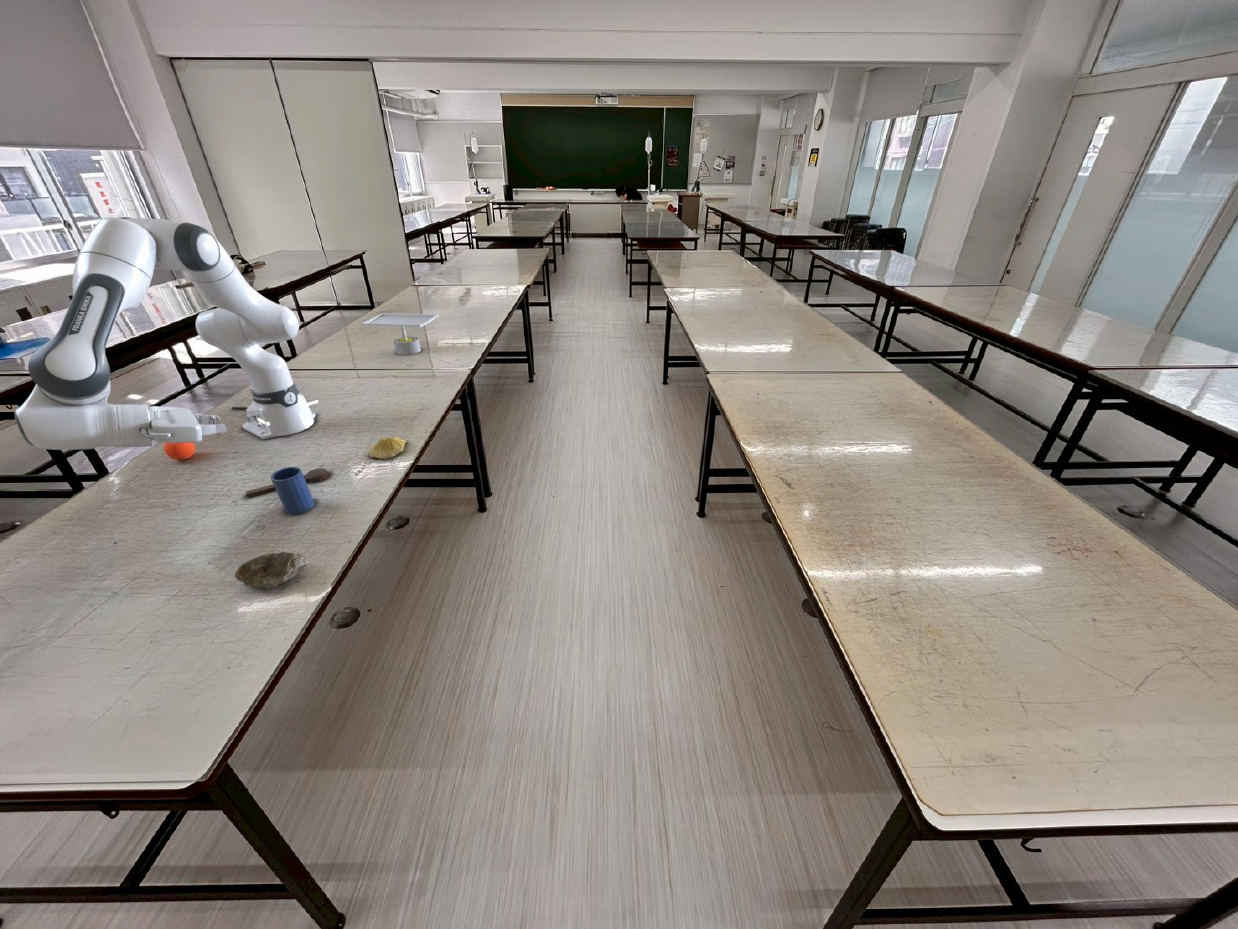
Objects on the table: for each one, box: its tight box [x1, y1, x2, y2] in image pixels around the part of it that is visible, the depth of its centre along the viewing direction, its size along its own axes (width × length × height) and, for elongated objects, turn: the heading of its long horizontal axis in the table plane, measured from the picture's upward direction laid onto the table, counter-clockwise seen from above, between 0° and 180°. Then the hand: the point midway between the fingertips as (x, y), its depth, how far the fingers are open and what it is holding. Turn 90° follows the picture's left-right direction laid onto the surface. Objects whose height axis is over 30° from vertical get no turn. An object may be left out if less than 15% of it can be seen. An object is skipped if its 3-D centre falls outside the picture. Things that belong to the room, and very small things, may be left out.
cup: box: [270, 466, 315, 515], centre depth 123 cm, size 6×6×10 cm
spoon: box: [245, 467, 329, 498], centre depth 134 cm, size 19×5×2 cm, turn 122°
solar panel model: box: [360, 312, 440, 356], centre depth 224 cm, size 28×17×15 cm, turn 82°
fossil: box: [368, 436, 407, 460], centre depth 148 cm, size 11×6×10 cm
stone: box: [233, 551, 309, 590], centre depth 102 cm, size 13×8×8 cm
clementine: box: [163, 442, 196, 461], centre depth 145 cm, size 8×7×7 cm
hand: (222, 423), depth 113 cm, fingers open, 8 cm apart
